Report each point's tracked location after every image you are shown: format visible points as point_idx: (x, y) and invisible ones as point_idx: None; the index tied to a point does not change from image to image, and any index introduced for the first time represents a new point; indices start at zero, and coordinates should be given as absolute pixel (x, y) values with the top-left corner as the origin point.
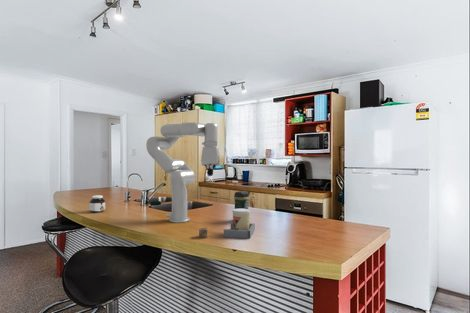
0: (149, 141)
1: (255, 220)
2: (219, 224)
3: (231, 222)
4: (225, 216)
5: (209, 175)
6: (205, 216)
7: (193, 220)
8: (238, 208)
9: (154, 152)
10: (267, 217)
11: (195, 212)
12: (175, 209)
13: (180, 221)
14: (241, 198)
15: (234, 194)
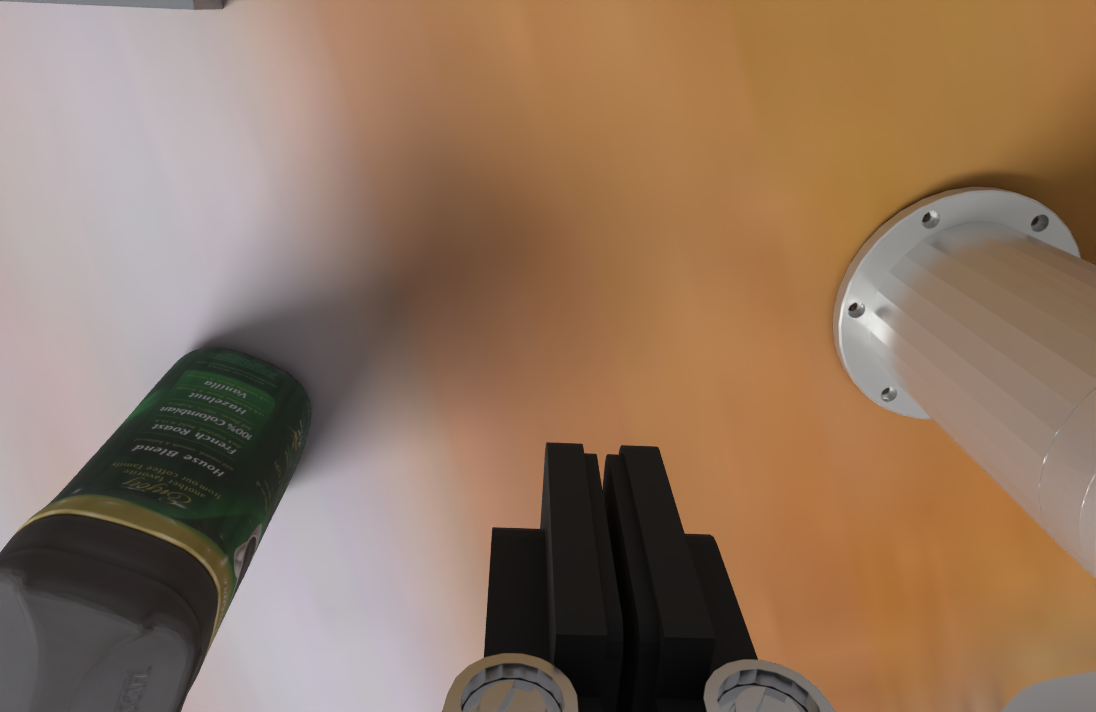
0: None
1: (83, 465)
2: (431, 205)
3: (185, 5)
4: (471, 578)
5: (607, 465)
6: None
7: (785, 340)
8: (187, 438)
9: None
10: None
11: (840, 685)
12: (1084, 262)
13: (924, 202)
14: (58, 506)
15: (194, 608)
